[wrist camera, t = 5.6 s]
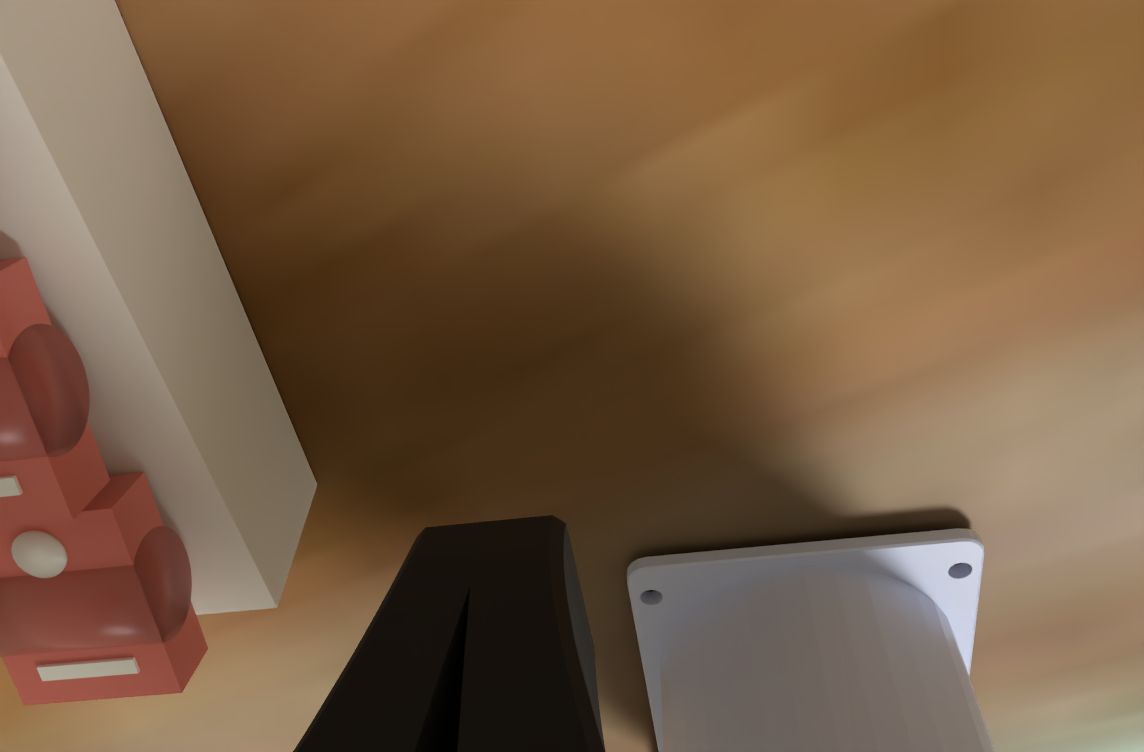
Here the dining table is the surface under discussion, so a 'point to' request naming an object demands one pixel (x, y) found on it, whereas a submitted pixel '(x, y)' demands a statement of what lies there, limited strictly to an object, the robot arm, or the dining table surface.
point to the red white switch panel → (145, 299)
